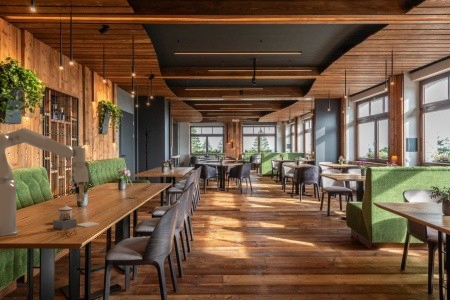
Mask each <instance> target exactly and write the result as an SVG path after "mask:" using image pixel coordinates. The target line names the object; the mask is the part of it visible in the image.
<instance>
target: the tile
mask: <svg viewBox="0 0 450 300" xmlns="http://www.w3.org/2000/svg"><path fill="white" fill-rule="evenodd" d="M99 225H100V223H98V222H93V221H86V222H82V223H77V227H81V228H90V227H94V226H99Z"/></svg>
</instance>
